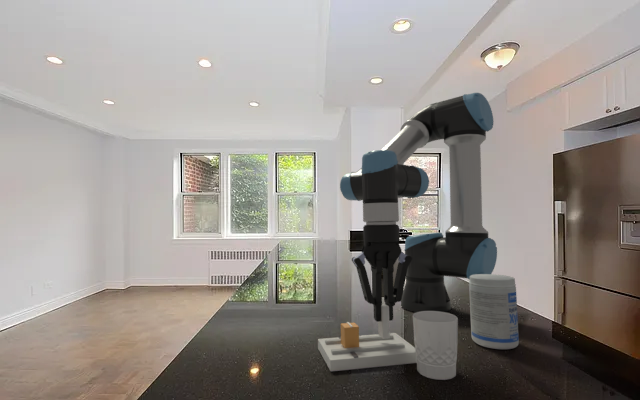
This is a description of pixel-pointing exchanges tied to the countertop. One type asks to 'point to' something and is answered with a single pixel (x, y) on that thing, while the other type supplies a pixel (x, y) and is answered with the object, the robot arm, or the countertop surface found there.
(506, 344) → the supplement tub
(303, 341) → the countertop surface
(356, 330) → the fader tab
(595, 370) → the countertop surface
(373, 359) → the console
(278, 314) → the countertop surface
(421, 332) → the white cup
